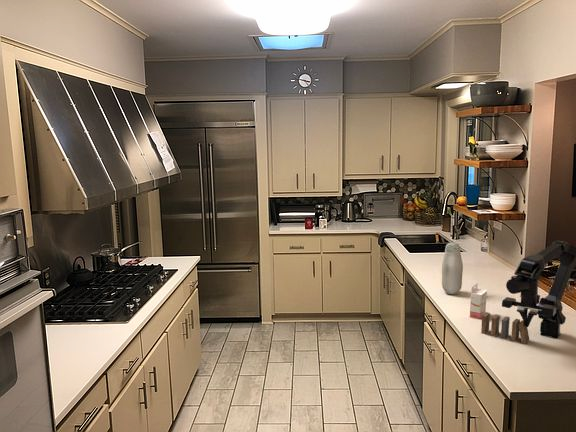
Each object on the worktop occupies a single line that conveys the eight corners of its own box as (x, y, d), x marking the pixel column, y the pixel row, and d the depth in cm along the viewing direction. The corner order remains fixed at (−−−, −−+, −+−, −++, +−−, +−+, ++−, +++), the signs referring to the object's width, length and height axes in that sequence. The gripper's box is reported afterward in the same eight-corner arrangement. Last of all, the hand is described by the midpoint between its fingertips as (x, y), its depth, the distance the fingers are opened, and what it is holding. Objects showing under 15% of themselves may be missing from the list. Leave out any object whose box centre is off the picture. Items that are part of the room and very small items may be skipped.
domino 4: (529, 339, 189) (525, 320, 189) (526, 343, 185) (522, 324, 185) (525, 339, 190) (521, 320, 190) (521, 343, 186) (518, 324, 186)
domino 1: (489, 330, 199) (489, 312, 198) (485, 334, 196) (485, 316, 194) (485, 329, 201) (486, 312, 199) (481, 333, 197) (482, 315, 196)
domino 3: (518, 337, 192) (520, 319, 190) (515, 341, 188) (516, 323, 187) (514, 336, 193) (516, 318, 191) (511, 340, 189) (512, 322, 188)
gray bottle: (444, 289, 255) (446, 239, 250) (463, 292, 249) (465, 241, 245) (438, 294, 247) (440, 243, 242) (458, 297, 241) (460, 245, 237)
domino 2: (498, 332, 197) (499, 315, 196) (494, 336, 193) (495, 318, 192) (494, 331, 198) (495, 314, 197) (490, 335, 194) (491, 317, 193)
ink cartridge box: (480, 319, 212) (481, 288, 209) (469, 317, 215) (470, 286, 213) (486, 313, 218) (487, 283, 216) (475, 311, 221) (476, 282, 219)
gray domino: (508, 335, 194) (509, 317, 193) (504, 339, 191) (506, 320, 189) (504, 334, 195) (505, 316, 194) (500, 338, 192) (501, 319, 190)
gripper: (560, 289, 184) (557, 326, 186) (510, 280, 196) (508, 315, 198) (554, 296, 176) (551, 335, 178) (502, 287, 188) (500, 323, 190)
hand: (527, 326), depth 186 cm, fingers closed
